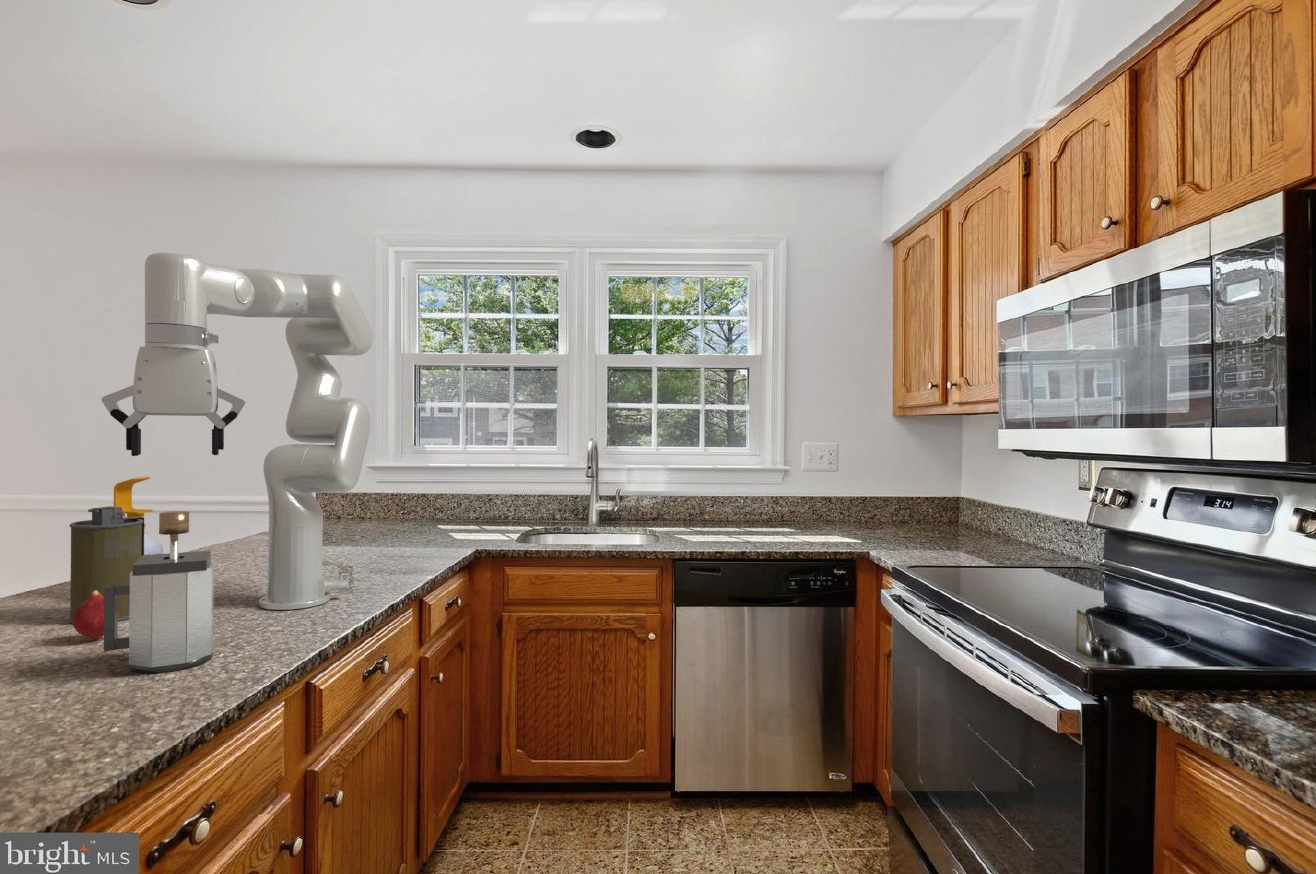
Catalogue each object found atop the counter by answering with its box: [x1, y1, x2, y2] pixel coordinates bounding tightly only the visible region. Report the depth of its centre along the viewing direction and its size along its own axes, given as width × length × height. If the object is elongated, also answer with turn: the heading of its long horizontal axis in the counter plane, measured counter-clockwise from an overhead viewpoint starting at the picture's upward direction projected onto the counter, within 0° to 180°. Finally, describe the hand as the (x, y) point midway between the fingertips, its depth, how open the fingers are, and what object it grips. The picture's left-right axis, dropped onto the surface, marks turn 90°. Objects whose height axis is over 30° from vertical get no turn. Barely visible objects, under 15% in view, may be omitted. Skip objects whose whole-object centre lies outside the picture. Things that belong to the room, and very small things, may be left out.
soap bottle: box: [113, 476, 164, 555], centre depth 136 cm, size 9×9×25 cm
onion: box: [71, 591, 119, 641], centre depth 109 cm, size 6×6×8 cm
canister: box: [68, 506, 145, 624], centre depth 122 cm, size 11×10×20 cm
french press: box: [103, 550, 215, 675], centre depth 99 cm, size 13×10×16 cm
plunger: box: [158, 510, 190, 559], centre depth 100 cm, size 7×7×20 cm
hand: (176, 455), depth 100 cm, fingers open, 9 cm apart
